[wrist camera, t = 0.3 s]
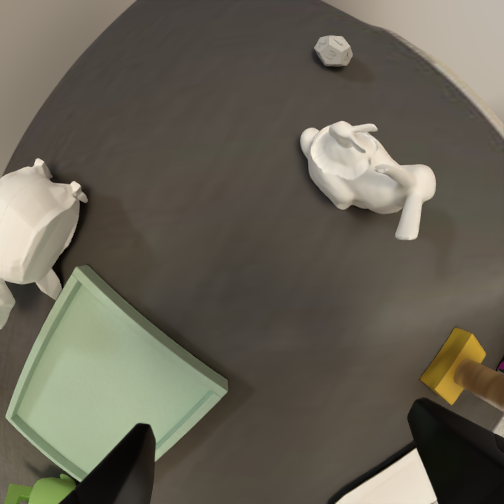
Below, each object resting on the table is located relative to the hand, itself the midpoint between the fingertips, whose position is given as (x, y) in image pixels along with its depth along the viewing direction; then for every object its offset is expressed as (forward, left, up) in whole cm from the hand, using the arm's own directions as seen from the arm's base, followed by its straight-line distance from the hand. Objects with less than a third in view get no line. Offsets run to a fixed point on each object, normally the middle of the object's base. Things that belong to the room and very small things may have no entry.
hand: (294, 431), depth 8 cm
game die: (+24, +10, -16) cm, 30 cm away
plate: (-9, -36, -16) cm, 40 cm away
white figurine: (+13, 0, -16) cm, 20 cm away
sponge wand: (+8, -22, -15) cm, 28 cm away
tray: (-18, +6, -15) cm, 24 cm away
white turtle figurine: (-8, +19, -16) cm, 26 cm away
